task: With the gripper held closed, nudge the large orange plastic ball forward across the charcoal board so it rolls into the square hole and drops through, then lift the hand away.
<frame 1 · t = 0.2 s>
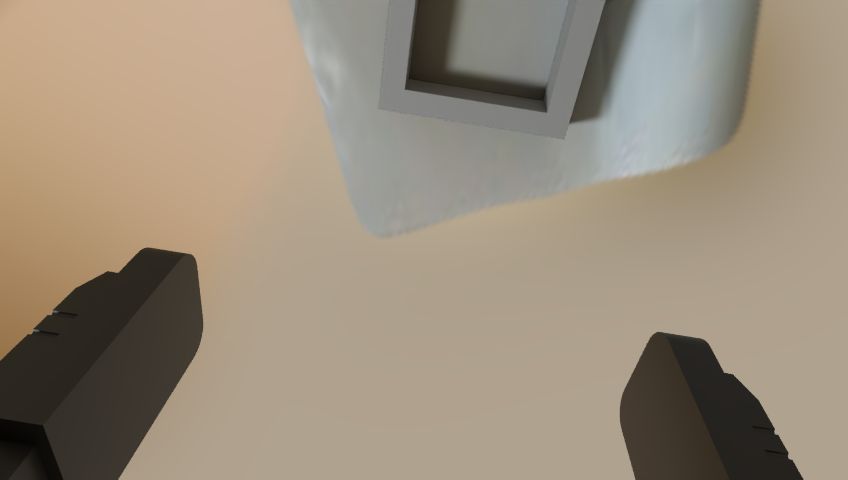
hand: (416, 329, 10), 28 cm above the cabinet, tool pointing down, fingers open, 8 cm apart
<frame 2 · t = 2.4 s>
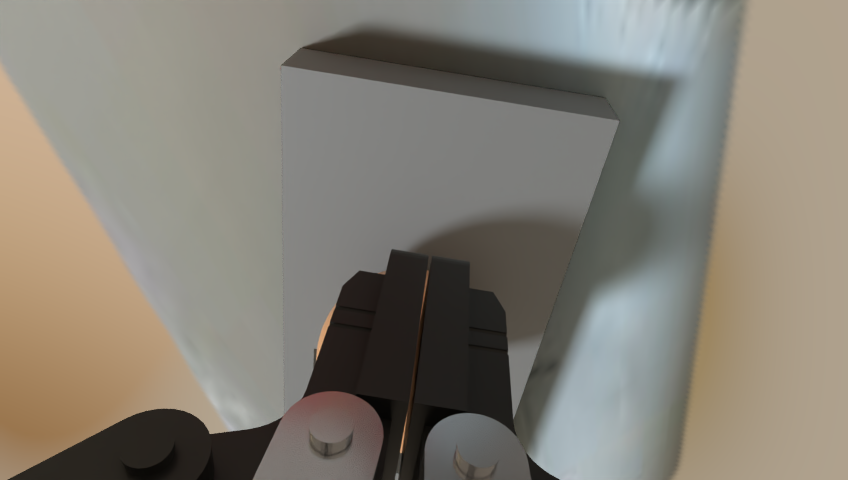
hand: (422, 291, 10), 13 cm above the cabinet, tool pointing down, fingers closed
board: (414, 306, 27), on the cabinet
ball: (407, 357, 21), point 6 cm above the cabinet, touching board
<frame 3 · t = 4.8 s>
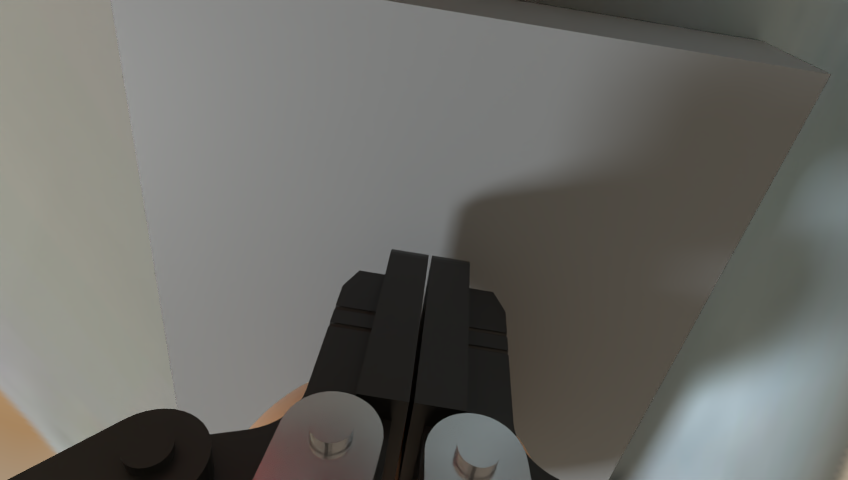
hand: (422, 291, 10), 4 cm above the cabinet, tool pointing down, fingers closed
board: (400, 394, 17), on the cabinet
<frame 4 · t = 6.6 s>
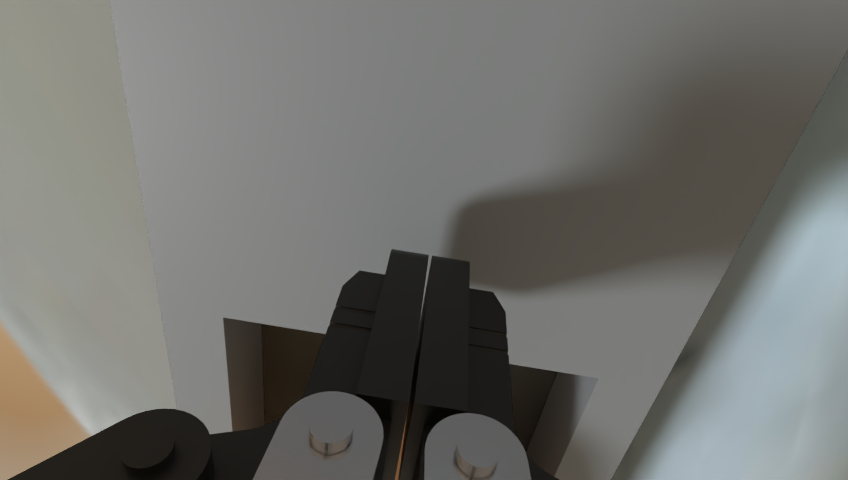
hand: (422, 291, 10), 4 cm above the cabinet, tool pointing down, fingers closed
board: (428, 239, 14), on the cabinet
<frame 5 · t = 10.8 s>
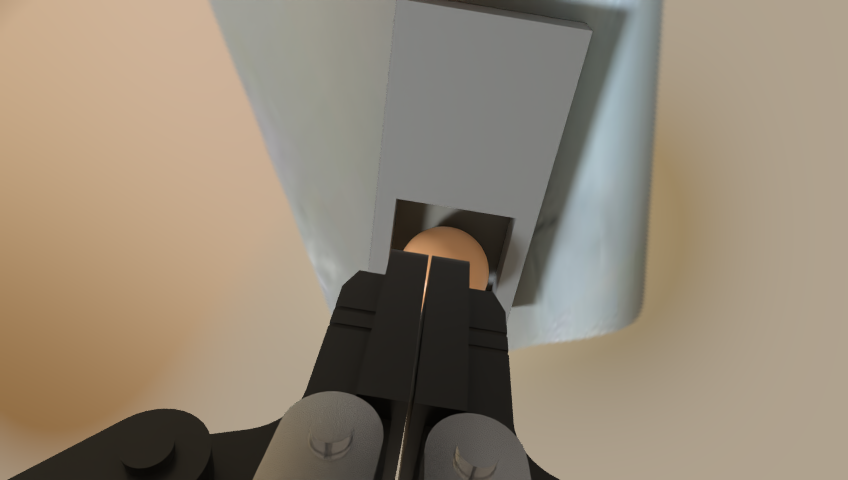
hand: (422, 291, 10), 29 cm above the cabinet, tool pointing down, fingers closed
board: (460, 175, 41), on the cabinet
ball: (443, 271, 41), point 3 cm above the cabinet, tilted 126°
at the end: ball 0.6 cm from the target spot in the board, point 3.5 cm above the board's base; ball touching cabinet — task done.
